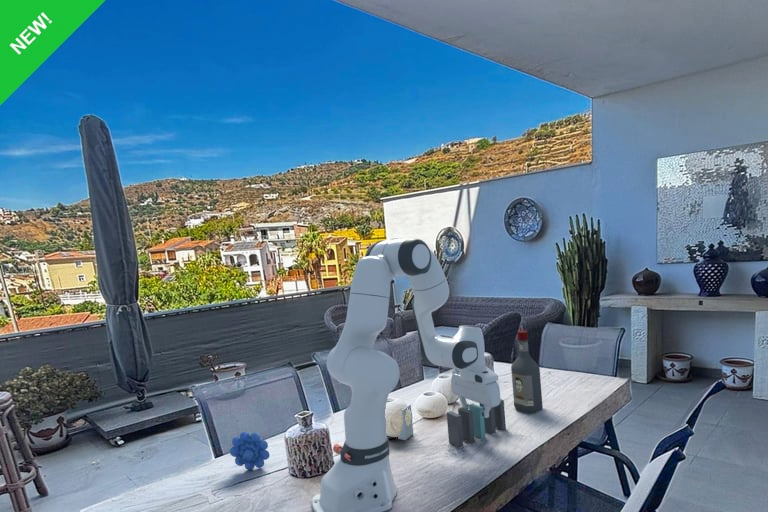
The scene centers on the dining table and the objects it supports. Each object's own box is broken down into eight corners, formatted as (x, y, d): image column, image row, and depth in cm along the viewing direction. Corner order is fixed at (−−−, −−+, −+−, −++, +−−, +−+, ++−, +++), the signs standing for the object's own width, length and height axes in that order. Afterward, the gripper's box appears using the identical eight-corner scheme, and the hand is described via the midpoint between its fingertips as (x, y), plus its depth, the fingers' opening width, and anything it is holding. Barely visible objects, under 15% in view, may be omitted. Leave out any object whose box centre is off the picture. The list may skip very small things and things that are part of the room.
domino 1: (459, 448, 131) (456, 416, 131) (448, 442, 135) (446, 412, 135) (463, 446, 132) (461, 415, 132) (453, 441, 136) (450, 411, 136)
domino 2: (470, 443, 133) (468, 412, 133) (460, 438, 138) (457, 408, 138) (474, 441, 134) (472, 411, 134) (464, 436, 138) (461, 407, 139)
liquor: (525, 402, 165) (519, 328, 165) (545, 408, 157) (539, 330, 158) (511, 409, 159) (505, 332, 160) (531, 415, 152) (525, 334, 152)
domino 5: (502, 430, 141) (500, 401, 141) (491, 425, 145) (489, 397, 146) (505, 428, 142) (503, 400, 142) (495, 424, 146) (492, 396, 147)
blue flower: (228, 480, 121) (225, 440, 121) (232, 469, 128) (230, 430, 128) (268, 473, 123) (266, 434, 123) (271, 463, 130) (268, 425, 130)
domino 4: (492, 434, 139) (490, 405, 139) (481, 429, 143) (479, 401, 143) (495, 432, 140) (493, 403, 140) (485, 428, 144) (482, 399, 144)
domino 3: (481, 438, 136) (479, 408, 136) (471, 433, 140) (468, 404, 140) (485, 437, 137) (483, 407, 137) (474, 432, 141) (472, 403, 141)
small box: (413, 434, 143) (411, 404, 143) (405, 441, 139) (403, 410, 139) (394, 430, 148) (392, 401, 148) (386, 436, 143) (383, 406, 143)
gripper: (445, 368, 146) (448, 407, 145) (488, 380, 128) (491, 424, 128) (458, 365, 149) (461, 403, 149) (502, 376, 132) (505, 419, 131)
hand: (475, 413), depth 138 cm, fingers open, 8 cm apart
